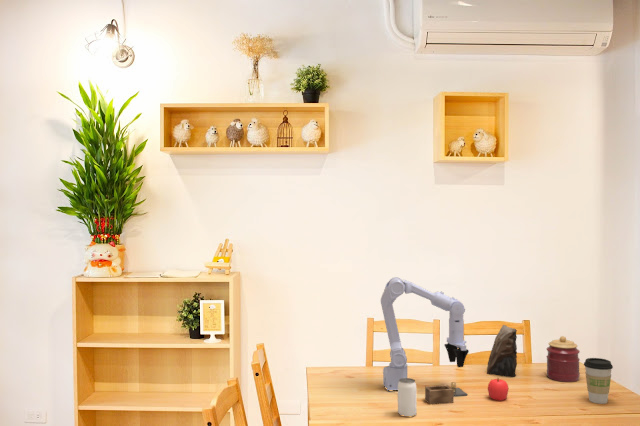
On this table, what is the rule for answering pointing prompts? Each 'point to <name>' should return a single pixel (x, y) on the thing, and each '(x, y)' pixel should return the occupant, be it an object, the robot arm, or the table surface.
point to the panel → (457, 390)
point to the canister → (563, 360)
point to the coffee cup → (598, 379)
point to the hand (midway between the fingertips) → (456, 364)
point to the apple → (498, 389)
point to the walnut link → (439, 394)
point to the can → (407, 397)
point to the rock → (503, 353)
